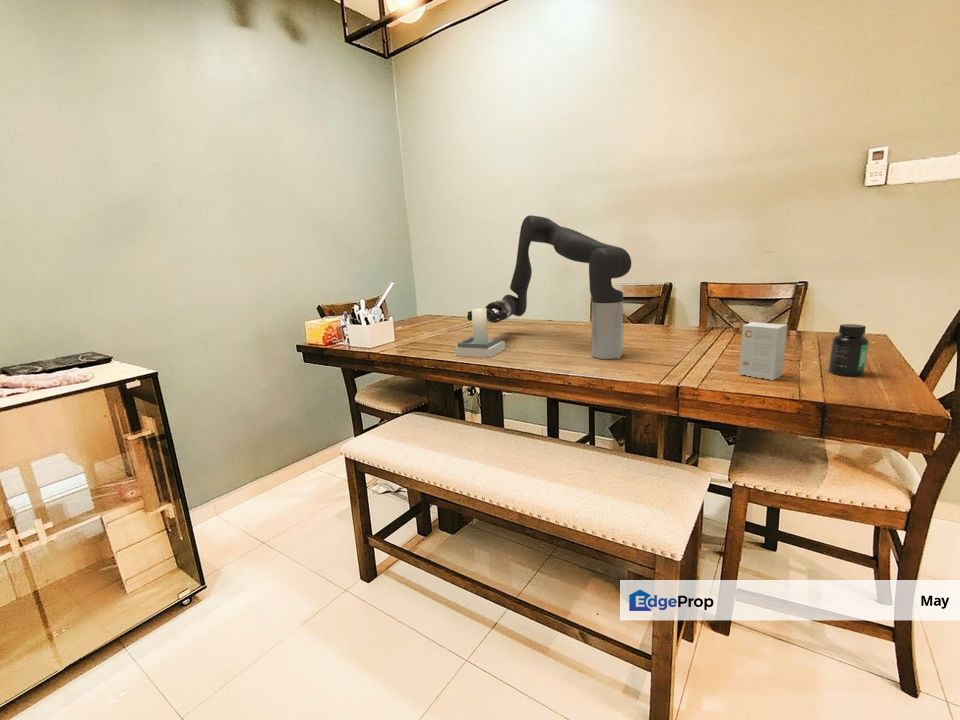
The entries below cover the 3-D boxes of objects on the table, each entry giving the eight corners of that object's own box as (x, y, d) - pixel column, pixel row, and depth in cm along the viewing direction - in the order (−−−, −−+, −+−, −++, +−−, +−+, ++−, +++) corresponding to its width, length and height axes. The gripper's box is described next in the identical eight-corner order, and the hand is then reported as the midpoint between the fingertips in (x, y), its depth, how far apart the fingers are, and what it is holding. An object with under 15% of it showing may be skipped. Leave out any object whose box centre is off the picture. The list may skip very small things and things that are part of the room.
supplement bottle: (869, 377, 105) (877, 328, 103) (836, 376, 107) (843, 328, 104) (854, 369, 112) (862, 323, 109) (823, 369, 114) (829, 323, 111)
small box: (782, 375, 110) (788, 324, 107) (773, 381, 107) (779, 328, 103) (747, 370, 117) (752, 321, 113) (737, 375, 113) (742, 325, 110)
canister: (490, 342, 154) (488, 307, 151) (484, 345, 149) (482, 309, 146) (477, 341, 156) (475, 307, 153) (471, 344, 151) (469, 309, 149)
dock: (505, 349, 156) (504, 337, 155) (490, 357, 145) (489, 344, 144) (472, 347, 162) (471, 335, 161) (455, 355, 150) (454, 343, 149)
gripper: (480, 301, 167) (460, 306, 153) (515, 301, 161) (498, 307, 147) (481, 320, 169) (462, 328, 155) (516, 321, 163) (499, 329, 149)
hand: (480, 317), depth 151 cm, fingers open, 8 cm apart
